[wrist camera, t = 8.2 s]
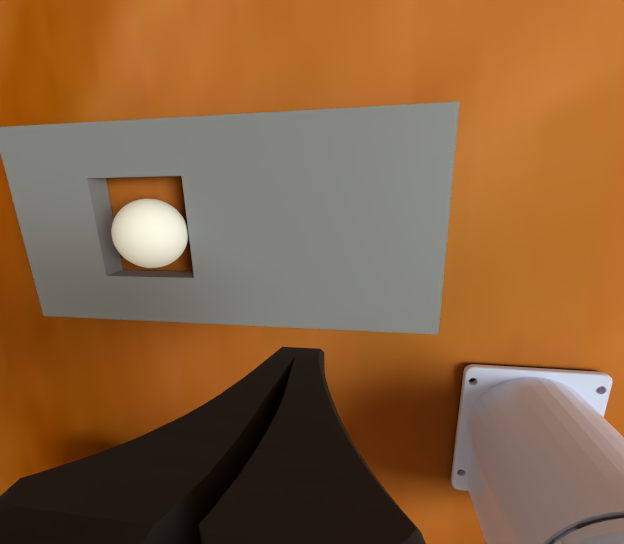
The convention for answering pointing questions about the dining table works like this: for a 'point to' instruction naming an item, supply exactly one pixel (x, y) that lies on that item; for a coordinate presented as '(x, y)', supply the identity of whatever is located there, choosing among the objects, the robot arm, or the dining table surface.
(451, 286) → the dining table surface
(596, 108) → the dining table surface
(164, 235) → the ball
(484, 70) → the dining table surface
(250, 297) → the board
